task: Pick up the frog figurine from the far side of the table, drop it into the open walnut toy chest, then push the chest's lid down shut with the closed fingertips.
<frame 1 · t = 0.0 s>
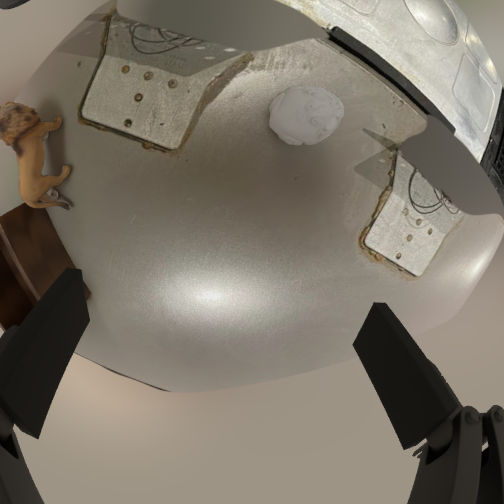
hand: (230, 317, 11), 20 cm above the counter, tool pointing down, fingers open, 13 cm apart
frog figurine: (293, 116, 26), on the counter
lion figurine: (53, 150, 24), on the counter
chest: (36, 261, 30), on the counter
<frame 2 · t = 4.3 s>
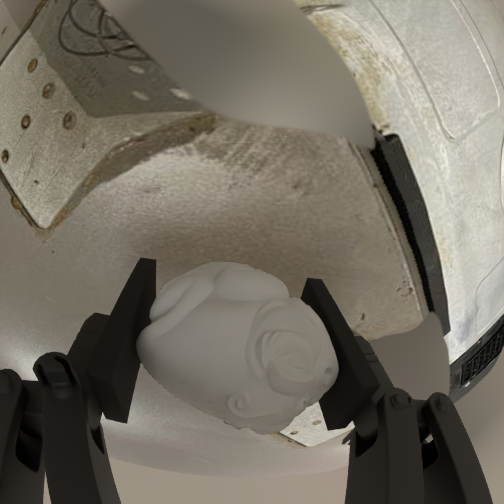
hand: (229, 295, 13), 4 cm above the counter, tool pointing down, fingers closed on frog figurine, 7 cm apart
frog figurine: (228, 288, 13), point 3 cm above the counter, touching gripper
when the fingers open (9 cm above the counter, at t = 11.8 s): frog figurine stays where it is, resting on chest.
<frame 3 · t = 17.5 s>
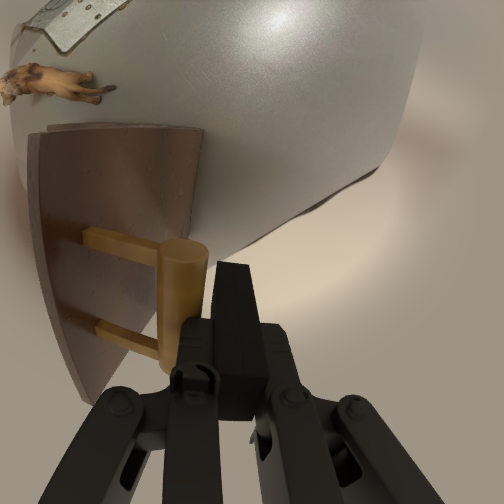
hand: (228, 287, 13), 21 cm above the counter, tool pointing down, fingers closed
chest lid: (179, 248, 16), point 18 cm above the counter, hinge at 75.5°, touching gripper
lion figurine: (67, 87, 23), on the counter
chest: (133, 177, 30), on the counter
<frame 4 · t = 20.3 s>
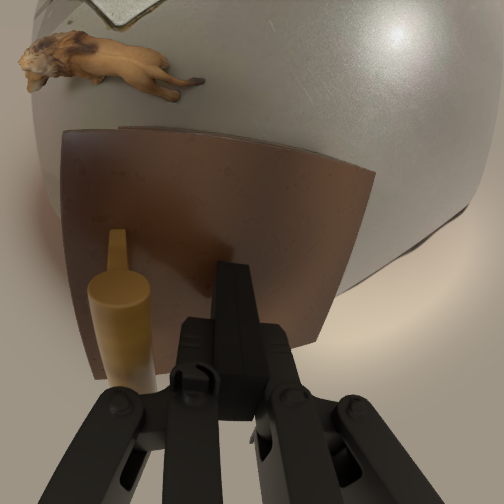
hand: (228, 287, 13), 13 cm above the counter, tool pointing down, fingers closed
chest lid: (253, 305, 12), point 15 cm above the counter, hinge at 20.0°, touching gripper
lion figurine: (123, 74, 18), on the counter
chest: (226, 208, 25), on the counter
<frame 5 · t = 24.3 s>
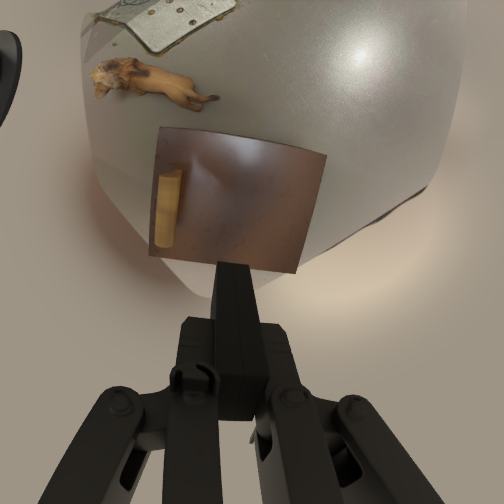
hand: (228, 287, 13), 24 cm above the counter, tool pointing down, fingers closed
chest lid: (233, 212, 24), point 12 cm above the counter, hinge at -0.2°, touching chest
lion figurine: (160, 89, 29), on the counter
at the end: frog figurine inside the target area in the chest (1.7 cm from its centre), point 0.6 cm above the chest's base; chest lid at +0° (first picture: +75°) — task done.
